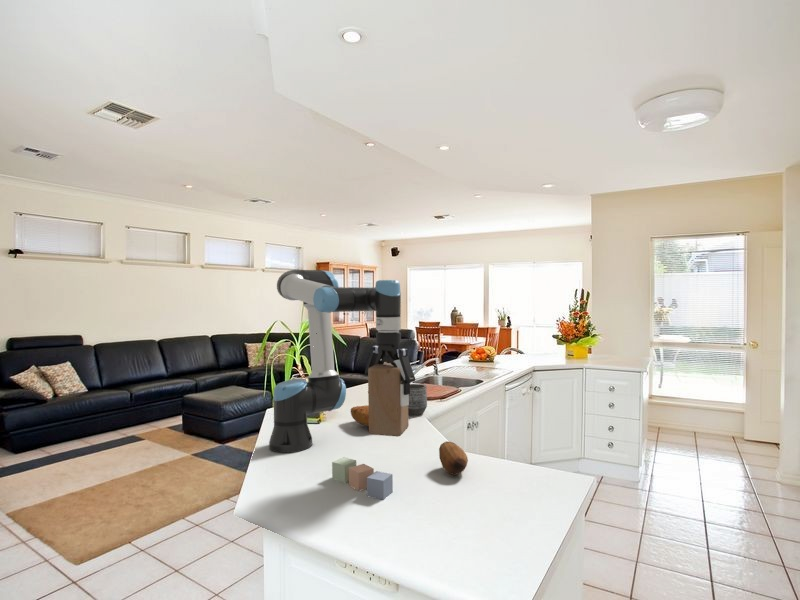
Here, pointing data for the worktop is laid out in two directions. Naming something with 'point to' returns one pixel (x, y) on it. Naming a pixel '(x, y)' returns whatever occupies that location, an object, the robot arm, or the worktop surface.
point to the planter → (417, 399)
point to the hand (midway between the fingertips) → (389, 401)
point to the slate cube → (379, 485)
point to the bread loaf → (361, 414)
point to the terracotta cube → (359, 476)
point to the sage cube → (342, 469)
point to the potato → (452, 458)
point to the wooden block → (386, 401)
